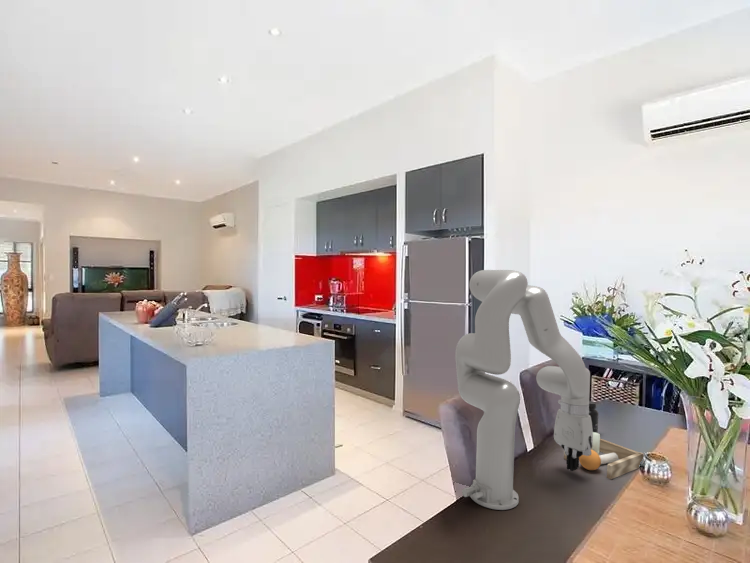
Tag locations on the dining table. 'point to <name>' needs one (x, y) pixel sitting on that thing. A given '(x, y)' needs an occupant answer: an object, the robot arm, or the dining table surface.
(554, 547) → the dining table surface
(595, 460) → the ball
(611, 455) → the front pin
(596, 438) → the back pin
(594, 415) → the supplement bottle
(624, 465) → the u-shaped wooden frame
